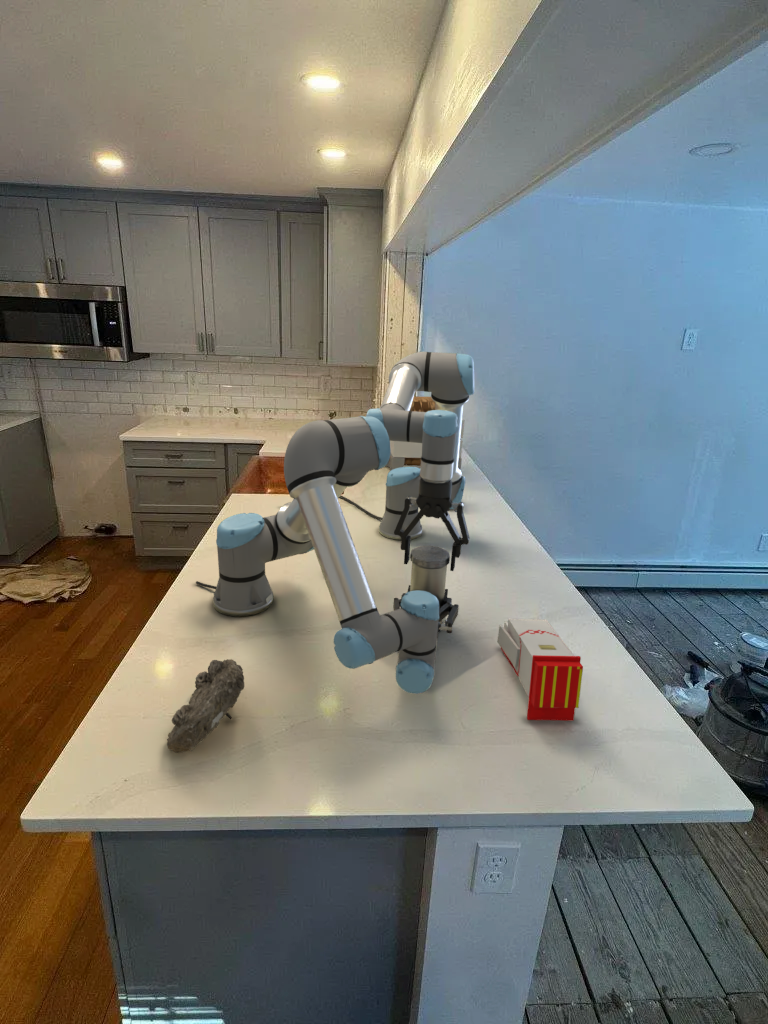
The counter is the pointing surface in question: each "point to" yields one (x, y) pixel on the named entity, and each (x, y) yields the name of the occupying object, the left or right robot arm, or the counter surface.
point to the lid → (430, 557)
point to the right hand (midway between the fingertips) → (429, 565)
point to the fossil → (206, 705)
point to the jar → (429, 581)
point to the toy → (542, 668)
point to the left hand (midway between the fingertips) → (428, 591)
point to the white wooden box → (409, 450)
